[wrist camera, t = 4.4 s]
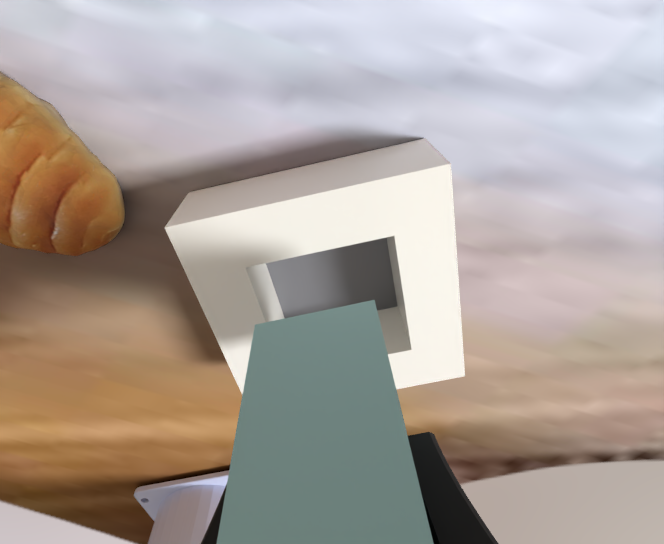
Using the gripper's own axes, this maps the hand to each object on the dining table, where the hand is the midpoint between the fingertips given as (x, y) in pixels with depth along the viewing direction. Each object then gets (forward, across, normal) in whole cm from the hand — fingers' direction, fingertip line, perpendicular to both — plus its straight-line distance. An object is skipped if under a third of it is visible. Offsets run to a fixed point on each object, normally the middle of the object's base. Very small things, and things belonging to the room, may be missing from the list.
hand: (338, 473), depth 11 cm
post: (+4, 0, 0) cm, 4 cm away
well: (+10, 0, 0) cm, 10 cm away
